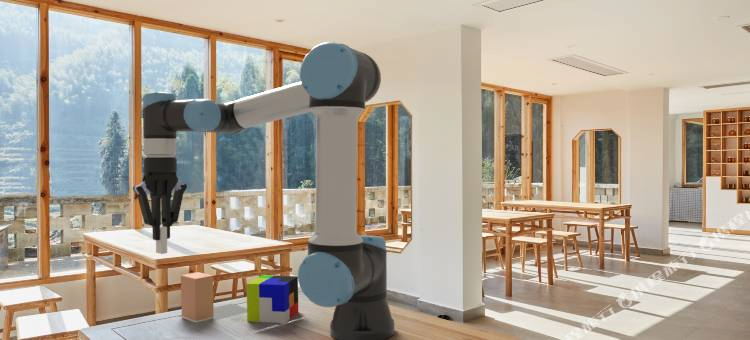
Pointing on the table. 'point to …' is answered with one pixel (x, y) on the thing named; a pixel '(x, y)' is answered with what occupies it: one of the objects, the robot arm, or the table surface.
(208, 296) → the block
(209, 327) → the table surface
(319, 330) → the table surface
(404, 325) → the table surface
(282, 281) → the puzzle toy
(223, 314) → the mat
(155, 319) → the table surface
